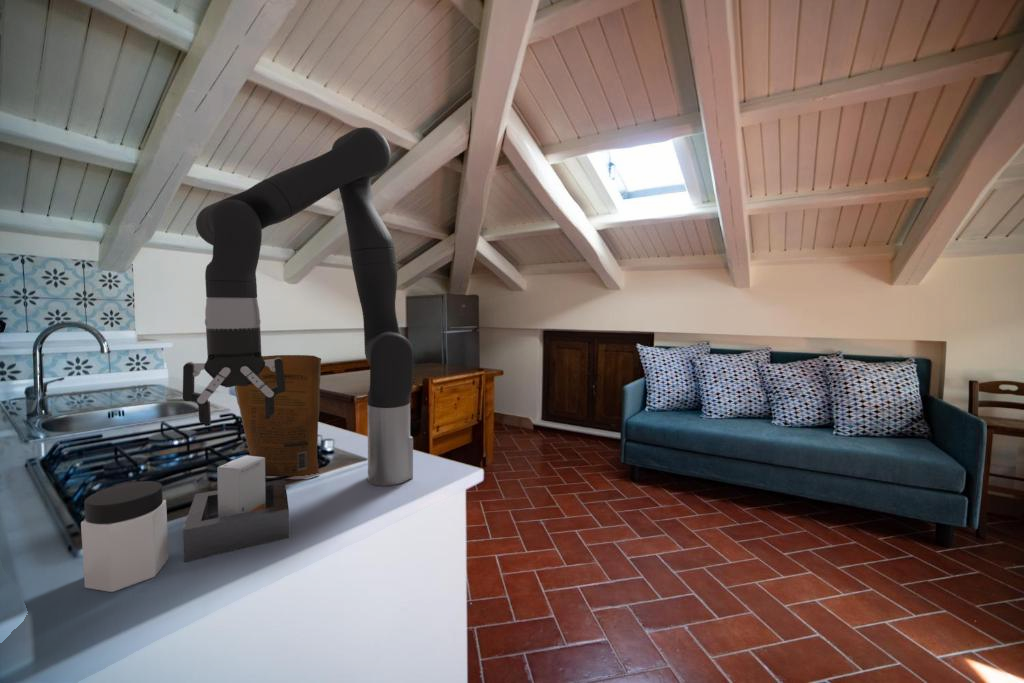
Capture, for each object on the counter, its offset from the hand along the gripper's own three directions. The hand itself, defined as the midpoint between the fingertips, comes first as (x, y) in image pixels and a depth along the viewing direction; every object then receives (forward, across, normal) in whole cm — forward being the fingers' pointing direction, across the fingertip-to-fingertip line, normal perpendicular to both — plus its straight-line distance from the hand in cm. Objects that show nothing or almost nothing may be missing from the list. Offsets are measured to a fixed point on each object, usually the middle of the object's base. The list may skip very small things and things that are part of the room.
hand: (238, 421), depth 71 cm
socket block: (+19, 0, 0) cm, 19 cm away
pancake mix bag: (+19, -7, -22) cm, 30 cm away
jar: (+19, +14, +6) cm, 24 cm away
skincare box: (+19, 0, 0) cm, 19 cm away
